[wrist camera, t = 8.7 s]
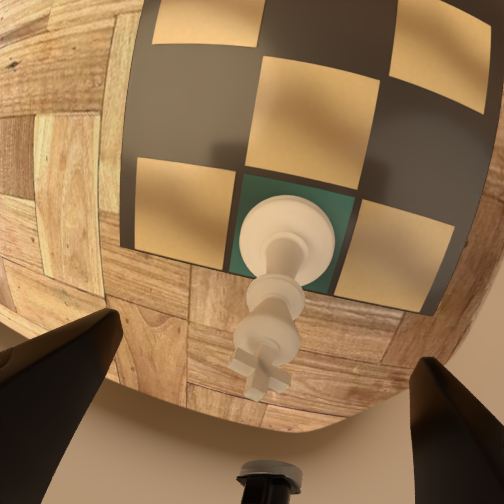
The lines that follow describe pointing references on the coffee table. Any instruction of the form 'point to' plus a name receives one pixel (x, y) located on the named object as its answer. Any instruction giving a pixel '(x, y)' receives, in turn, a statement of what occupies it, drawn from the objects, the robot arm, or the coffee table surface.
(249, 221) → the chess piece
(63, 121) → the coffee table surface
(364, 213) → the game board
